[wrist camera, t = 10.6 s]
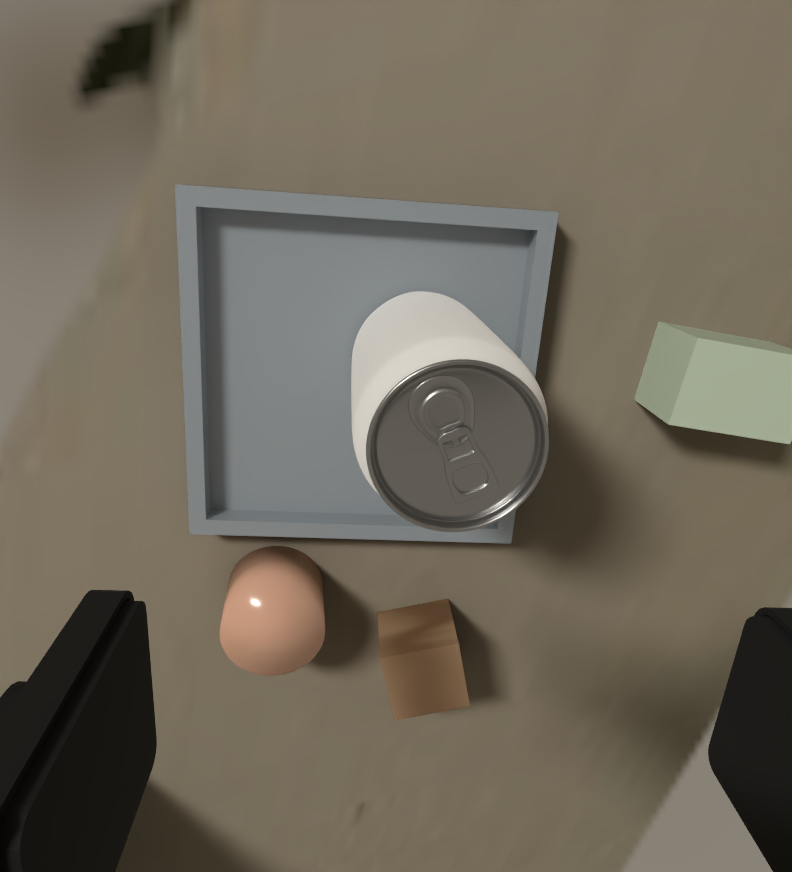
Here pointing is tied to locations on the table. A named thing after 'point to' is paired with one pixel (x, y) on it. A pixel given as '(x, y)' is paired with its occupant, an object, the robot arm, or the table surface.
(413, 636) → the walnut block
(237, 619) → the brown egg
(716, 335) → the sage block
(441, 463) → the can
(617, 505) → the table surface
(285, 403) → the tray
